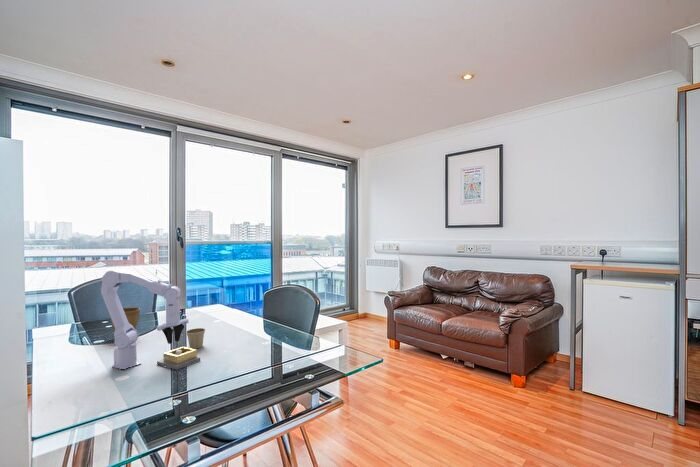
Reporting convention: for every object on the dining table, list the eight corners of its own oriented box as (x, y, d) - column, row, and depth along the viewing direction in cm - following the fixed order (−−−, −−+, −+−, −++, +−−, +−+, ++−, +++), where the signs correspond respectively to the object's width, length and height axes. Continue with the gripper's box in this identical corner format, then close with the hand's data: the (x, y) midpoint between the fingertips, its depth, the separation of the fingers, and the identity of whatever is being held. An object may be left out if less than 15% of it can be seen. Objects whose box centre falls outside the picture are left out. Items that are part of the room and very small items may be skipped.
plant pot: (129, 341, 192) (129, 312, 192) (103, 341, 192) (102, 313, 192) (146, 333, 207) (145, 306, 207) (121, 333, 207) (121, 307, 207)
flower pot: (184, 351, 174) (184, 334, 174) (187, 345, 183) (187, 329, 183) (204, 349, 177) (204, 332, 177) (206, 343, 186) (206, 327, 186)
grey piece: (157, 364, 157) (156, 352, 157) (181, 356, 167) (180, 344, 167) (176, 370, 150) (176, 357, 150) (200, 360, 160) (199, 349, 160)
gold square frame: (163, 360, 157) (163, 353, 157) (183, 353, 166) (183, 346, 166) (177, 364, 152) (177, 356, 152) (197, 357, 161) (196, 349, 161)
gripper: (163, 317, 151) (163, 348, 151) (192, 310, 164) (192, 339, 164) (153, 315, 154) (154, 345, 154) (182, 309, 167) (183, 337, 167)
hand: (173, 342), depth 159 cm, fingers open, 3 cm apart
